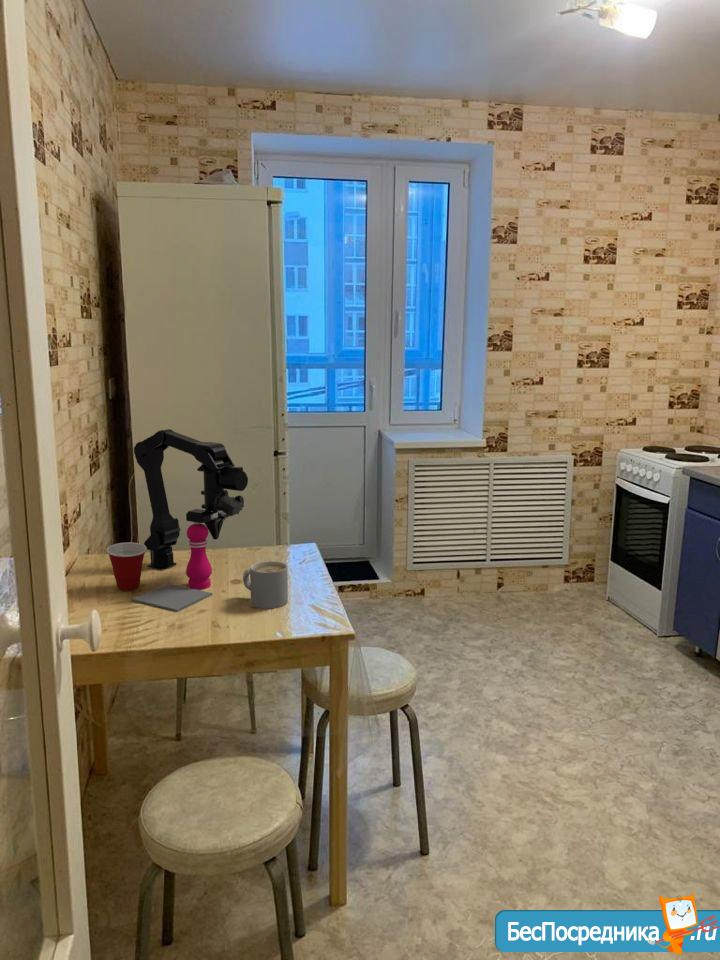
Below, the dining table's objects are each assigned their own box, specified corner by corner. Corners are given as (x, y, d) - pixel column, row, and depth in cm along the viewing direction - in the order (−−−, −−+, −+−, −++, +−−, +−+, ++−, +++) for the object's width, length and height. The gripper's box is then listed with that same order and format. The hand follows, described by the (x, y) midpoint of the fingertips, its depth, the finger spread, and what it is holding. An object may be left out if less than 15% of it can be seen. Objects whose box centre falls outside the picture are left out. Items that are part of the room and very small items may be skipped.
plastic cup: (124, 597, 191) (121, 555, 189) (101, 589, 197) (98, 548, 195) (156, 586, 200) (154, 546, 197) (133, 578, 206) (131, 539, 204)
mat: (132, 600, 189) (132, 598, 188) (168, 585, 201) (168, 583, 201) (177, 611, 181) (177, 609, 181) (212, 595, 193) (212, 593, 193)
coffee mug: (295, 601, 189) (295, 566, 187) (267, 611, 182) (267, 575, 180) (262, 589, 198) (262, 556, 196) (235, 599, 191) (234, 564, 189)
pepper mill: (216, 583, 203) (214, 516, 199) (204, 591, 196) (202, 522, 192) (194, 580, 205) (191, 514, 201) (181, 588, 198) (179, 520, 194)
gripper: (215, 496, 190) (217, 551, 193) (255, 484, 206) (257, 535, 209) (183, 492, 195) (185, 545, 198) (225, 480, 211) (227, 530, 214)
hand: (215, 539), depth 205 cm, fingers closed
